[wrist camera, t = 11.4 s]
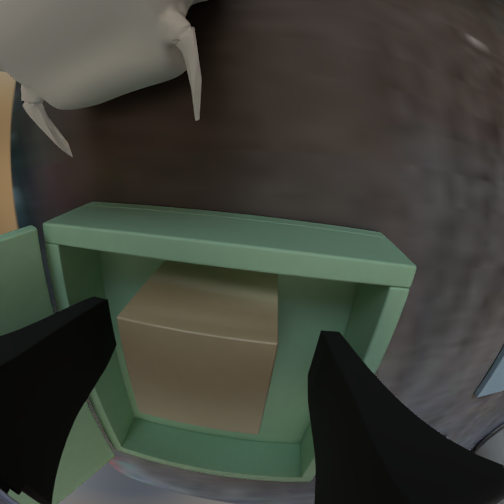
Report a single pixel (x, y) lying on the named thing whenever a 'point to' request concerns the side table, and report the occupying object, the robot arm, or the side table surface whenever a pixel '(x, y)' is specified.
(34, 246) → the lunchbox lid
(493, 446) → the beverage can
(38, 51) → the elephant figurine
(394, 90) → the side table surface
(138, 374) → the birch block
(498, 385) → the placemat
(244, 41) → the side table surface
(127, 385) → the box
